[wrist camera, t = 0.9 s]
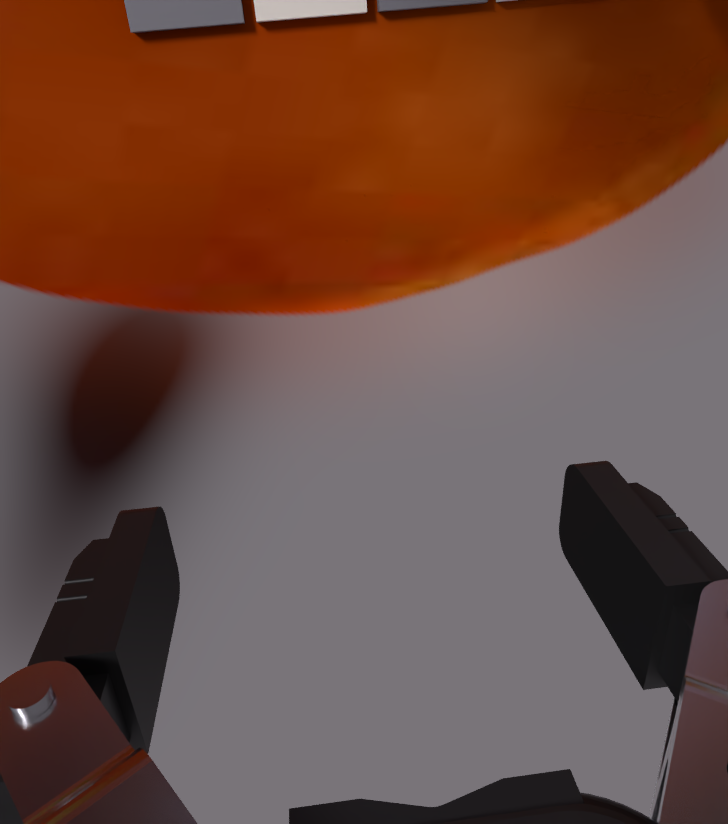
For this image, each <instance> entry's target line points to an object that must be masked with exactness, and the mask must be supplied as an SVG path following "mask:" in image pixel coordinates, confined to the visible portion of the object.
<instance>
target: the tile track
mask: <svg viewBox="0 0 728 824" xmlns="http://www.w3.org/2000/svg"><path fill="white" fill-rule="evenodd" d="M505 1H516V0H496V2H505ZM124 2H125V7H126V11H127V16H128V21H129V25H130V30H131V32H132V33H139V32H151V31H162V30H174V29H186V28H198V27H210V26H221V25H233V24H245V21H244V14H243V7H242V0H124ZM486 2H488V0H377V7H378V12H387V11H398V10H410V9H422V8H434V7H446V6H457V5H469V4H481V3H486ZM254 6H255V14H256V21H257V22H269V21H280V20H292V19H304V18H316V17H328V16H339V15H351V14H363V13H367V1H366V0H254Z"/></svg>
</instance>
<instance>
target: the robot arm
mask: <svg viewBox="0 0 728 824" xmlns="http://www.w3.org/2000/svg"><path fill="white" fill-rule="evenodd" d="M559 535H560V542H561V547H562V550H563V553H564V555H565V557H566V559H567V561H568V563H569V564H570V566H571V568H572V569H573V571H574V573H575V574H576V576H577V578H578V580H579V581H580V583H581V585H582V586H583V588H584V590H585V591H586V593H587V595H588V597H589V598H590V600H591V602H592V603H593V605H594V607H595V608H596V610H597V612H598V614H599V615H600V617H601V619H602V620H603V622H604V624H605V625H606V627H607V629H608V630H609V632H610V634H611V636H612V637H613V639H614V641H615V642H616V644H617V646H618V648H619V649H620V651H621V653H622V654H623V656H624V658H625V660H626V661H627V663H628V664H629V666H630V668H631V670H632V671H633V673H634V675H635V677H636V678H637V680H638V682H639V683H640V685H641V687H642V688H643V690H645V689H652V688H661V687H668V688H669V689H670V691H671V693H672V694H673V696H674V701H673V705H672V709H671V713H670V718H669V723H668V728H667V733H666V738H665V743H664V748H663V752H662V757H661V762H660V767H659V772H658V777H657V782H656V787H655V792H654V797H653V801H652V806H651V810H650V814H649V817H647V816H645V815H643V814H642V813H640V812H638V811H636V810H633V809H632V808H630V807H628V806H625V805H623V804H620V803H618V802H615V801H612V800H610V799H607V798H603V797H599V796H595V795H591V794H585V793H580V792H579V789H578V787H577V785H576V782H575V780H574V777H573V775H572V772H571V770H570V769H567V770H560V771H553V772H546V773H539V774H532V775H525V776H518V777H511V778H504V779H501V780H499V781H496V782H494V783H492V784H489V785H487V786H485V787H483V788H481V789H478V790H476V791H474V792H471V793H469V794H467V795H465V796H462V797H460V798H458V799H456V800H453V801H451V802H449V803H447V804H444V805H441V806H438V807H423V806H414V805H407V804H399V803H390V802H382V801H374V800H365V799H355V800H349V801H341V802H334V803H327V804H319V805H312V806H305V807H298V808H291V809H289V824H728V571H727V570H726V569H725V568H724V567H723V566H722V564H721V563H720V562H719V561H718V560H717V559H716V558H715V557H714V555H712V553H711V552H710V551H709V550H708V549H707V548H706V547H705V546H704V544H703V543H702V542H701V541H700V540H699V539H698V538H697V537H696V535H695V534H694V533H693V532H692V531H689V530H688V527H687V525H686V524H685V523H684V522H683V521H682V520H681V519H680V518H679V517H676V513H675V512H674V511H673V510H672V509H671V508H670V507H669V505H667V503H666V502H665V501H664V500H663V499H662V498H661V497H660V496H659V495H657V494H655V493H654V492H652V491H650V490H649V489H647V488H645V487H643V486H642V485H640V484H638V483H627V482H626V481H625V479H624V478H623V477H622V476H621V475H620V473H619V472H618V471H617V470H616V469H615V468H614V467H613V465H612V464H611V463H610V462H608V461H600V462H591V463H582V464H572V465H569V466H568V467H567V469H566V473H565V479H564V488H563V497H562V506H561V515H560V523H559ZM179 594H180V582H179V572H178V566H177V562H176V558H175V554H174V550H173V545H172V541H171V537H170V533H169V529H168V524H167V520H166V516H165V513H164V511H163V509H162V508H161V507H152V508H143V509H133V510H123V511H121V512H119V514H118V516H117V519H116V522H115V524H114V527H113V529H112V532H111V535H110V537H109V538H108V539H99V540H93V541H92V542H91V543H90V544H89V545H88V546H87V547H86V548H85V549H84V550H83V551H82V552H81V553H80V554H79V555H78V556H77V557H76V558H75V559H74V560H73V563H72V565H71V567H70V569H69V572H68V575H67V576H66V579H65V585H63V586H62V588H61V590H60V592H59V595H58V597H57V602H55V604H54V606H53V609H52V611H51V613H50V616H49V618H48V620H47V622H46V625H45V627H44V629H43V631H42V634H41V636H40V638H39V641H38V643H37V645H36V648H35V650H34V652H33V654H32V657H31V659H30V661H29V664H28V666H27V667H25V668H23V669H21V670H20V671H17V672H16V673H14V674H12V675H11V676H9V677H8V678H6V679H5V680H4V681H2V682H1V683H0V824H197V823H196V821H195V820H194V818H193V817H192V815H191V814H190V813H189V811H188V810H187V808H186V807H185V806H184V804H183V803H182V801H181V800H180V799H179V797H178V796H177V794H176V793H175V792H174V790H173V789H172V787H171V786H170V785H169V783H168V782H167V780H166V779H165V778H164V776H163V775H162V773H161V772H160V771H159V769H158V768H157V766H156V765H155V764H154V762H153V761H152V759H151V758H150V757H149V755H148V752H149V747H150V742H151V737H152V732H153V727H154V722H155V717H156V712H157V707H158V702H159V697H160V692H161V687H162V682H163V677H164V672H165V667H166V662H167V657H168V652H169V647H170V642H171V637H172V633H173V628H174V622H175V617H176V613H177V608H178V603H179Z"/></svg>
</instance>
